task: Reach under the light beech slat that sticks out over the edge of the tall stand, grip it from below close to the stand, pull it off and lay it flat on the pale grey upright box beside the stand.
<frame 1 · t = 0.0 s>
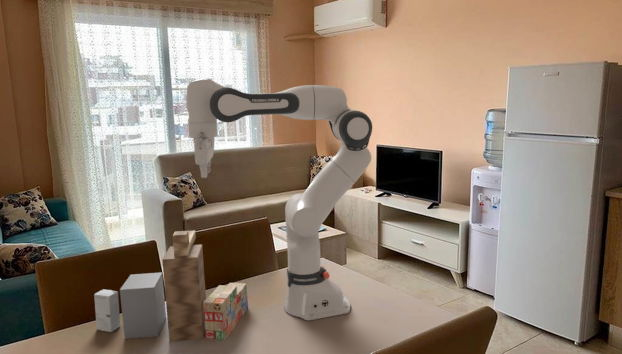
hand: (206, 175, 142), 48 cm above the table, tool pointing down, fingers open, 8 cm apart
tall stand: (189, 330, 141), on the table
stack of blocks: (228, 323, 145), on the table
skincare box: (109, 328, 143), on the table
pale grey upright box: (146, 327, 143), on the table
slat: (185, 246, 141), point 26 cm above the table, touching tall stand
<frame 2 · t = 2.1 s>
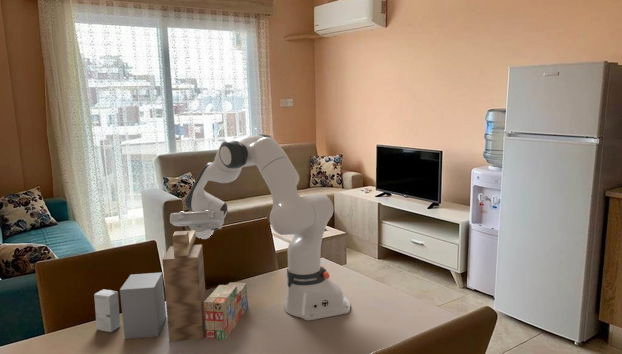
hand: (194, 212, 165), 31 cm above the table, tool pointing upward, fingers open, 8 cm apart
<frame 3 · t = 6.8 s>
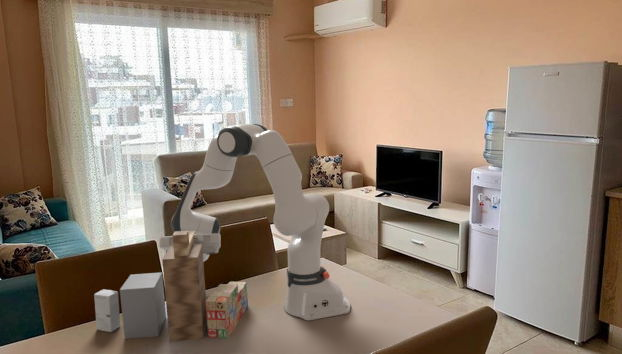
hand: (187, 236, 145), 28 cm above the table, tool pointing upward, fingers closed on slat, 4 cm apart
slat: (185, 246, 141), point 26 cm above the table, touching gripper, tall stand
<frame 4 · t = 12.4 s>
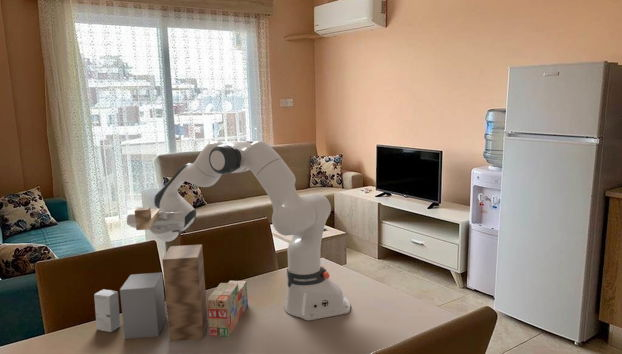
hand: (152, 213, 157), 33 cm above the table, tool pointing upward, fingers closed on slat, 4 cm apart
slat: (149, 222, 152), point 31 cm above the table, touching gripper
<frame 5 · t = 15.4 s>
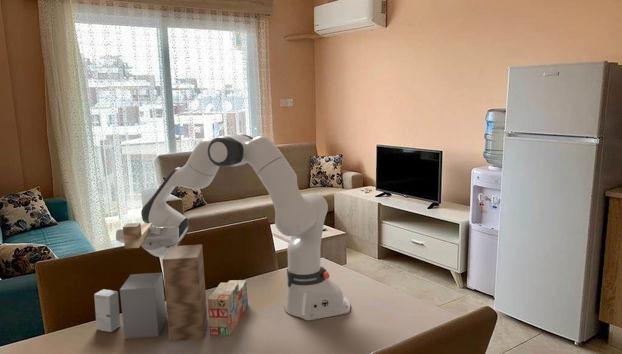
hand: (142, 229, 144), 31 cm above the table, tool pointing upward, fingers closed on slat, 4 cm apart
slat: (139, 238, 140), point 29 cm above the table, touching gripper
when the fingers open (19 cm above the table, at t = 18.2 s): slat drops 2 cm, resting on pale grey upright box.
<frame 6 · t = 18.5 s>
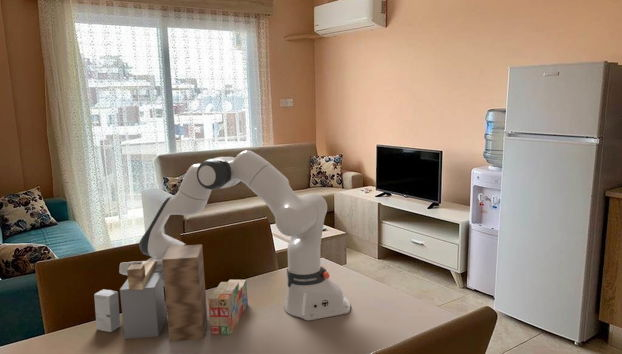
hand: (146, 263, 146), 19 cm above the table, tool pointing upward, fingers open, 7 cm apart
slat: (143, 278, 142), point 16 cm above the table, touching pale grey upright box
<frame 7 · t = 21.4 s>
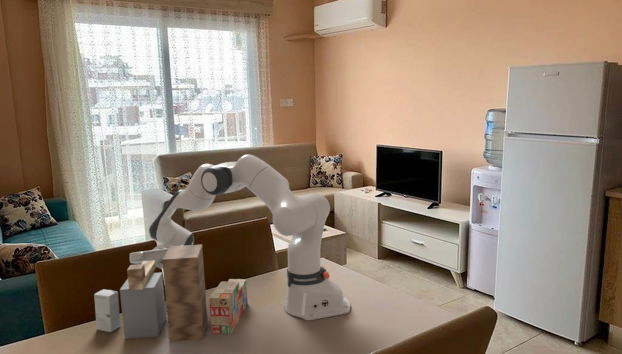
hand: (155, 253, 157), 19 cm above the table, tool pointing upward, fingers open, 8 cm apart
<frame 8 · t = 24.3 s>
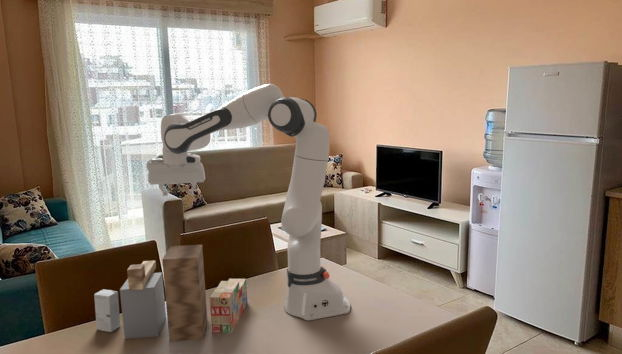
hand: (178, 195, 166), 37 cm above the table, tool pointing down, fingers open, 8 cm apart
at the end: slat inside the target area (0.6 cm from its centre), point 16.0 cm above the table; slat tilted 0°; the gripper is holding nothing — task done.
